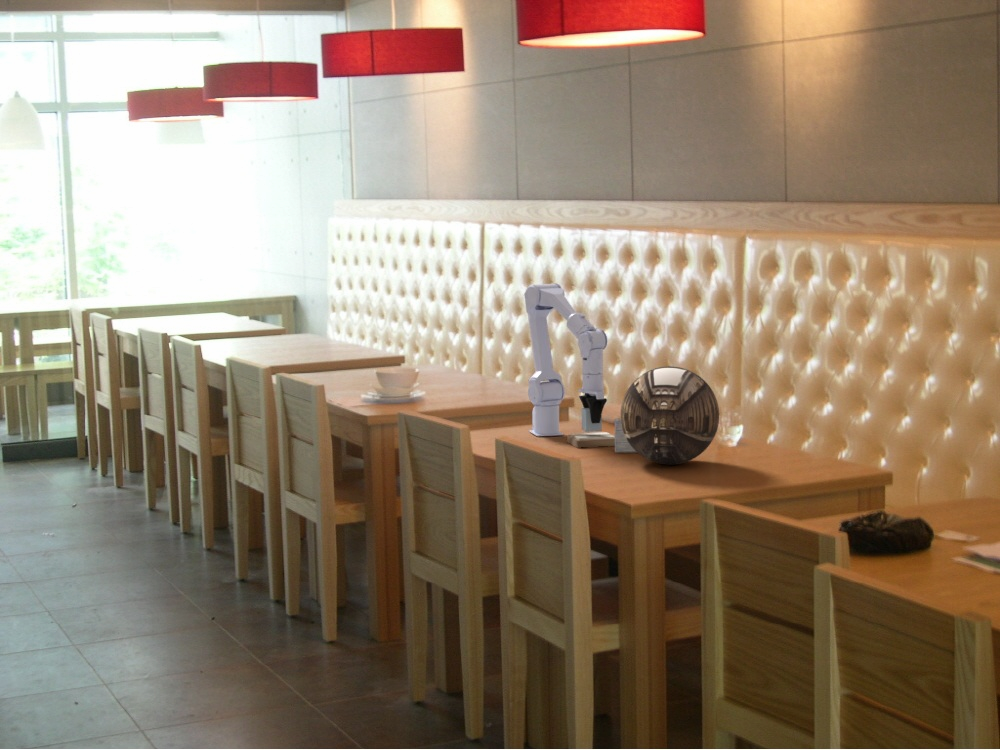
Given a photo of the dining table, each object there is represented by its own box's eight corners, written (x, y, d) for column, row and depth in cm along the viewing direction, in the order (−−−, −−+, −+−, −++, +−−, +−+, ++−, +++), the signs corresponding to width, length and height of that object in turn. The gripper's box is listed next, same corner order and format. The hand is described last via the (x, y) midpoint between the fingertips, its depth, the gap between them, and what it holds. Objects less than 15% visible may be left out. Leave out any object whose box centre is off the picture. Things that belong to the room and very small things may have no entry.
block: (581, 429, 363) (581, 408, 363) (596, 428, 364) (596, 407, 364) (586, 431, 359) (585, 410, 358) (601, 430, 360) (601, 409, 359)
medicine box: (644, 450, 352) (644, 418, 351) (644, 453, 347) (644, 421, 346) (614, 450, 353) (614, 418, 352) (614, 453, 348) (614, 421, 347)
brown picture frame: (567, 442, 366) (567, 433, 365) (608, 440, 368) (608, 431, 368) (577, 448, 356) (577, 439, 356) (619, 445, 359) (619, 436, 358)
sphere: (723, 456, 340) (724, 362, 337) (713, 474, 316) (713, 373, 313) (629, 453, 347) (629, 360, 344) (612, 470, 323) (612, 371, 320)
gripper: (571, 371, 366) (571, 418, 368) (586, 376, 352) (586, 426, 354) (595, 370, 368) (595, 417, 369) (611, 375, 354) (611, 425, 355)
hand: (593, 421), depth 361 cm, fingers closed on block, 4 cm apart
